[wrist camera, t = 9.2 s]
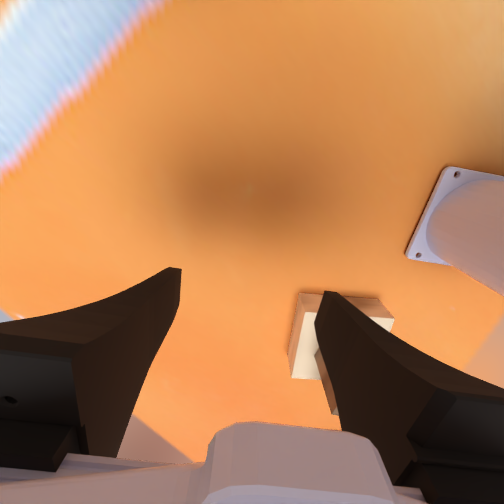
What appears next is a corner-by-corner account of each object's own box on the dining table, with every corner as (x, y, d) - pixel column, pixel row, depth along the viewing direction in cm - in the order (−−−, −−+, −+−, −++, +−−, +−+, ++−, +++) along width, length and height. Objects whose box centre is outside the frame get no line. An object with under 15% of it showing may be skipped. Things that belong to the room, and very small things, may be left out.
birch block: (376, 296, 25) (394, 318, 22) (356, 356, 28) (370, 383, 25) (298, 290, 25) (305, 311, 21) (286, 351, 28) (291, 377, 25)
